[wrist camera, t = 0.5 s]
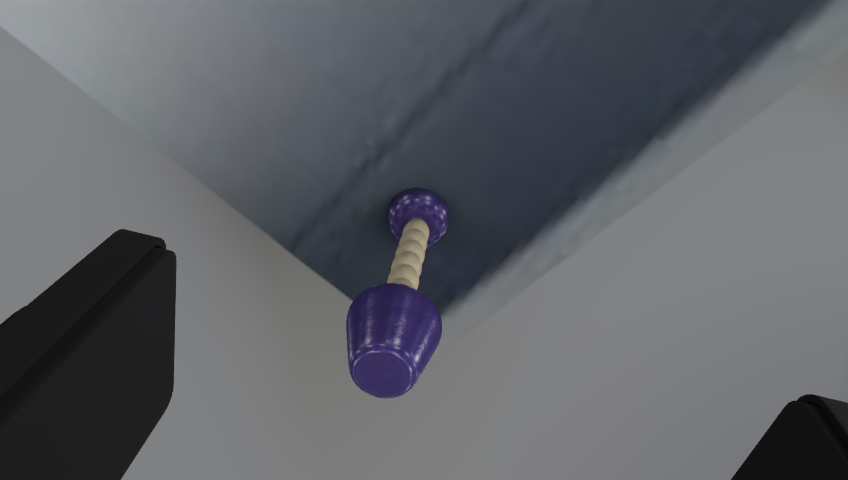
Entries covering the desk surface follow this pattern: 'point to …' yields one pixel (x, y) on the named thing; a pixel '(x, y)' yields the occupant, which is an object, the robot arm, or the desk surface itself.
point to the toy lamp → (398, 304)
